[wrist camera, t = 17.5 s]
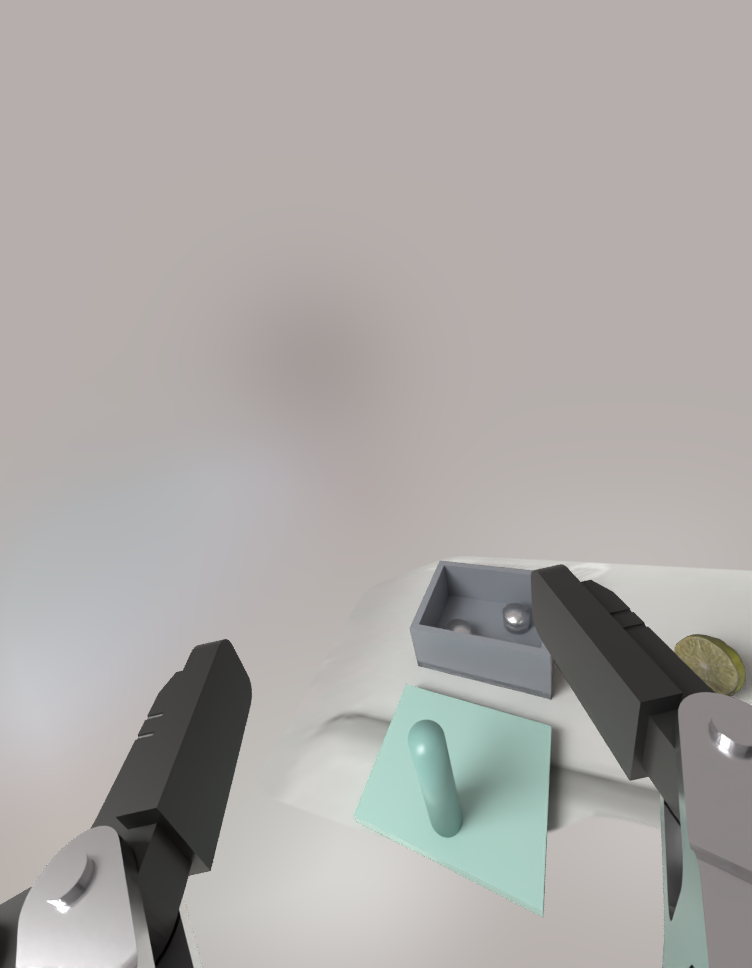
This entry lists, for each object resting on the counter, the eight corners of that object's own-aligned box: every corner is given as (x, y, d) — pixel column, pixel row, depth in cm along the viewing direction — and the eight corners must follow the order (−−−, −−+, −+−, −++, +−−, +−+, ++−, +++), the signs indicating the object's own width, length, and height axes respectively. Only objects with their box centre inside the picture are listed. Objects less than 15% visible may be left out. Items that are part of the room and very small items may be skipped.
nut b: (474, 633, 44) (473, 621, 43) (469, 653, 42) (467, 641, 41) (450, 628, 46) (448, 617, 45) (444, 648, 43) (441, 636, 42)
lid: (551, 739, 33) (549, 646, 28) (543, 923, 24) (538, 831, 19) (409, 696, 40) (388, 614, 35) (359, 827, 31) (320, 740, 26)
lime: (743, 711, 32) (755, 673, 30) (672, 689, 35) (679, 652, 33) (735, 670, 35) (746, 632, 33) (671, 653, 38) (677, 617, 36)
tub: (554, 610, 46) (554, 572, 43) (551, 699, 36) (550, 657, 34) (445, 594, 52) (439, 560, 50) (418, 665, 43) (409, 628, 40)
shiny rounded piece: (531, 617, 45) (530, 605, 44) (529, 636, 42) (528, 624, 41) (505, 613, 46) (504, 601, 45) (502, 631, 44) (500, 619, 43)
